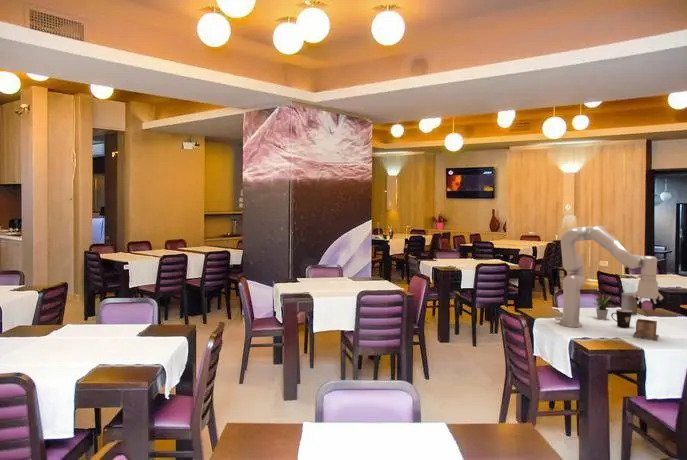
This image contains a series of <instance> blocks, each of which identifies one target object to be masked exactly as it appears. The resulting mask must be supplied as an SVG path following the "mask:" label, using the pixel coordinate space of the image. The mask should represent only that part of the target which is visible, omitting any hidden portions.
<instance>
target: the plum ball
mask: <svg viewBox="0 0 687 460" xmlns="http://www.w3.org/2000/svg"><path fill="white" fill-rule="evenodd" d="M641 302H642V304H641V307H642V308H641V310H642V309H643V311H646V312H649V311H651V310H652V311H653V303H654V302H652V301H651V300H650V299H649V300H643V301H641Z"/></svg>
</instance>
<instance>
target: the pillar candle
mask: <svg viewBox="0 0 687 460" xmlns="http://www.w3.org/2000/svg"><path fill="white" fill-rule="evenodd" d="M634 293H635V292H622V293H621V305H620V306H621V307H620V309H626V310H631V311H632V315H631V316H637V315H638V301H637V300H636V299H635V298H634V297H633V296H632V295H633V294H634ZM636 296H637V294H636ZM637 297H638V296H637ZM638 298H639V297H638Z"/></svg>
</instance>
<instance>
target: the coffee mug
mask: <svg viewBox="0 0 687 460" xmlns="http://www.w3.org/2000/svg"><path fill="white" fill-rule="evenodd" d="M615 311H616V312H613V313H611V315H610V316H611V319H612V320H614V321H615V322H616V324H617V325H616V326H617V327H618V328H621V329H630V326H631V319H632V316H633V315H632V311H631V310H626V309H621V308H617V309H615ZM615 314H616V319H615V318H614V317H613V315H615Z"/></svg>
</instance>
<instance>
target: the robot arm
mask: <svg viewBox="0 0 687 460" xmlns="http://www.w3.org/2000/svg"><path fill="white" fill-rule="evenodd" d="M581 241H582V242H583V241H593V242H595V243H596V244H598V245H599V246H600V247H601V248H603V249H604V250H606V251H607V252H608V253H609V254H610V255H611V256H612V257H613V258H614V259H615V260H617V262H619V263H621V264H622V265H623V266H624V267H626V268H628V269H633V270H634V269H638V268H641V269H640V271H641V273H640V274H639V275H637V277H638V279H639V278H640V279H639V280H638V285H637V290H636V291H635V292H633V293H634V294H633V295H632V296H633V297H634V298H635V299H636V300H637V303H638V304H637V308H639V310H642V307H641V304H642V302H643V301H642V299H649V300H650V299H651V300H652V301H653V302H652V303H653V309H652V311H653V312H655V310H656V309H657V304H658V303H659V302H661V301H662V300H663V299H664V296H663V295H662V294H661V293H660V292H659V282H658V280H657V269H658V267H657V265H658V258H657V257H656V256H652V255H641V254H640V255H639V254H632V253H631V252H630V251H628V250H626V249H625V247H624V246H622V244H621V242H620V240H618V239H617V238H616V237H615V236H613V235H612V234H611V233H609V232H608V231H607V229H606V228H605V226H602V225H593V226H591V225H590V226H578V227H571V228H570V229H567V230H566V231H565V232H564V233H563V234H562V236H561V238H560V248H561V258H562V259H561V261H562V267H563V270H565V271H566V272H567V273H568V274H567V275H565V277H564V278H563V280H562V289H563V293H562V295H563V296H562V298H563V299H562V300H563V301H562V316H556V315H555V317H554V320H555V321H559V325H560V326H563V327H568V328H569V327H570V328H581V327H582V322H580V307H581V290H580V289H581V287H583V286H584V284H585V282H586V277H585V269H584V262H583V260H582V258H581V257H580V256H579V255H578V253H577V246H576V243H577V242H581ZM636 294H637V296H638V297H637V296H636Z"/></svg>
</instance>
